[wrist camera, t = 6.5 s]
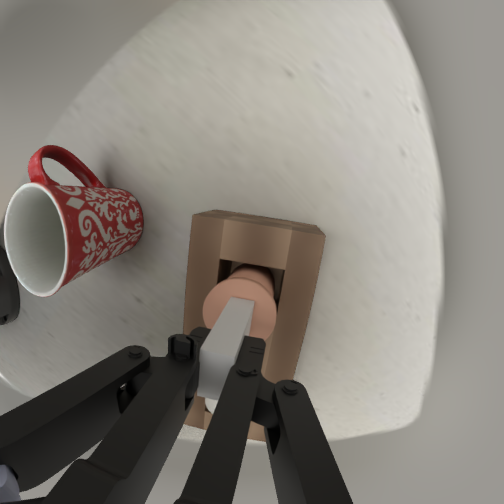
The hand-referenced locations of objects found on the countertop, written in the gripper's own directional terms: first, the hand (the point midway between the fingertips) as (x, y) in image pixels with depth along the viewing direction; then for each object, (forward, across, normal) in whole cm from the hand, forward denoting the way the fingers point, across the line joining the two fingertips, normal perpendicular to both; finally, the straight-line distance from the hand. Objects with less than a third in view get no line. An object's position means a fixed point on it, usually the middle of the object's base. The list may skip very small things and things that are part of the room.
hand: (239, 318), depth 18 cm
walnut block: (+11, 0, -6) cm, 13 cm away
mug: (+11, -17, +4) cm, 21 cm away
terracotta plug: (+7, 0, 0) cm, 7 cm away
